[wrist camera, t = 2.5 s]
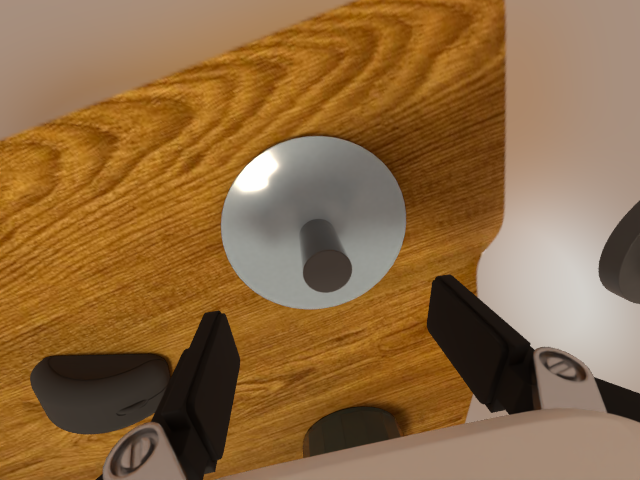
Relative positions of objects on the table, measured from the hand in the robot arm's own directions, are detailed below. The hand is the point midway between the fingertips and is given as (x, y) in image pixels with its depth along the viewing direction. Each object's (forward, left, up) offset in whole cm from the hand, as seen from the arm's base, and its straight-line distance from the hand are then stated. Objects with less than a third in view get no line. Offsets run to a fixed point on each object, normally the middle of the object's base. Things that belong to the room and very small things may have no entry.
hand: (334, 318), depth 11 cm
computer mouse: (+22, +13, -11) cm, 28 cm away
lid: (0, 0, -10) cm, 10 cm away
